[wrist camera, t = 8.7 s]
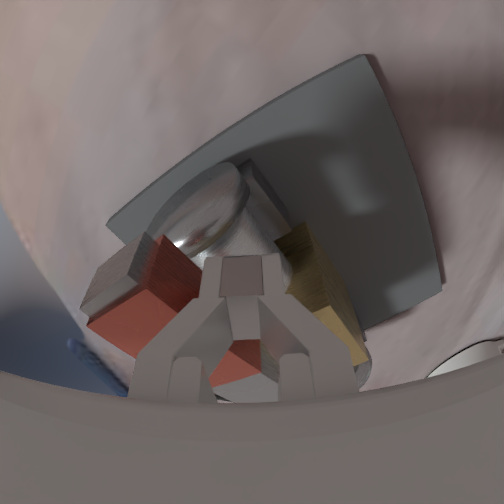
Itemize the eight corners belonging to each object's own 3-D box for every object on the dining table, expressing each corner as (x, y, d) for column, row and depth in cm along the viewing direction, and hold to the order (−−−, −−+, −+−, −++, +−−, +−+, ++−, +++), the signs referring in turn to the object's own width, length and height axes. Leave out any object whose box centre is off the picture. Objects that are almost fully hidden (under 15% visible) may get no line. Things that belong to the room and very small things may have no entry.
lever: (335, 374, 16) (344, 421, 14) (292, 389, 17) (297, 434, 15) (159, 204, 9) (131, 275, 7) (105, 248, 10) (73, 316, 8)
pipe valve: (368, 322, 26) (389, 392, 20) (303, 350, 29) (313, 418, 23) (247, 137, 15) (250, 208, 10) (153, 203, 18) (115, 292, 12)
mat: (439, 284, 25) (442, 290, 24) (273, 359, 31) (273, 366, 30) (359, 54, 13) (364, 55, 12) (109, 218, 19) (105, 225, 19)
